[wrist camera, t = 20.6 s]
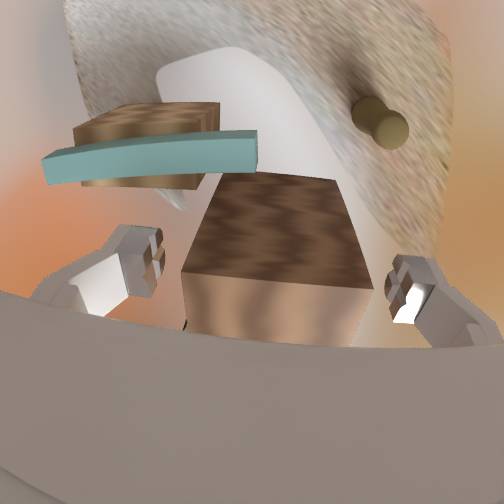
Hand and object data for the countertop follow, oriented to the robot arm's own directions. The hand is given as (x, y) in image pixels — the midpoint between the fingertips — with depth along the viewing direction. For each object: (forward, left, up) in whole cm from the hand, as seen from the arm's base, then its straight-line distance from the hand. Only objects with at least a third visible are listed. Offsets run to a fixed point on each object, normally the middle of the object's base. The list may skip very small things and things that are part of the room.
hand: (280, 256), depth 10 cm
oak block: (-14, -11, -39) cm, 43 cm away
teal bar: (-13, -9, -24) cm, 28 cm away
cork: (+13, +4, -39) cm, 41 cm away
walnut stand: (+7, -17, -39) cm, 43 cm away
